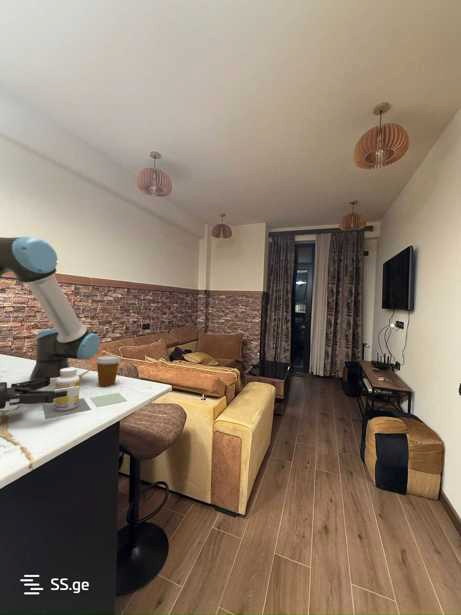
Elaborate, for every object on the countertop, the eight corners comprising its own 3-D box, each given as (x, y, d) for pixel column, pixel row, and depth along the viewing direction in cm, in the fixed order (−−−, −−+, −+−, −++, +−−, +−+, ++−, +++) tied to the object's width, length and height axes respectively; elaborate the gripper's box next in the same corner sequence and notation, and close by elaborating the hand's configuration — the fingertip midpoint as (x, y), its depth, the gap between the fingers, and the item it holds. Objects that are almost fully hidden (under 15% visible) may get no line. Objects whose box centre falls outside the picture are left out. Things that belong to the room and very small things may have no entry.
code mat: (42, 405, 81) (42, 405, 81) (83, 398, 89) (83, 398, 89) (45, 419, 72) (45, 418, 72) (90, 409, 80) (90, 409, 80)
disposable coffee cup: (108, 389, 99) (110, 360, 100) (89, 386, 101) (90, 358, 101) (123, 382, 109) (124, 356, 109) (105, 380, 111) (106, 354, 111)
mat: (90, 398, 89) (90, 397, 89) (118, 392, 96) (118, 392, 96) (96, 407, 82) (96, 406, 82) (126, 400, 89) (126, 400, 89)
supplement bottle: (74, 401, 85) (76, 365, 85) (81, 407, 81) (83, 369, 81) (51, 407, 80) (53, 368, 80) (57, 413, 76) (60, 372, 76)
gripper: (-10, 397, 77) (69, 385, 91) (-19, 428, 58) (81, 408, 72) (-8, 373, 77) (70, 365, 91) (-18, 398, 58) (83, 383, 72)
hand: (75, 384), depth 82 cm, fingers open, 13 cm apart
